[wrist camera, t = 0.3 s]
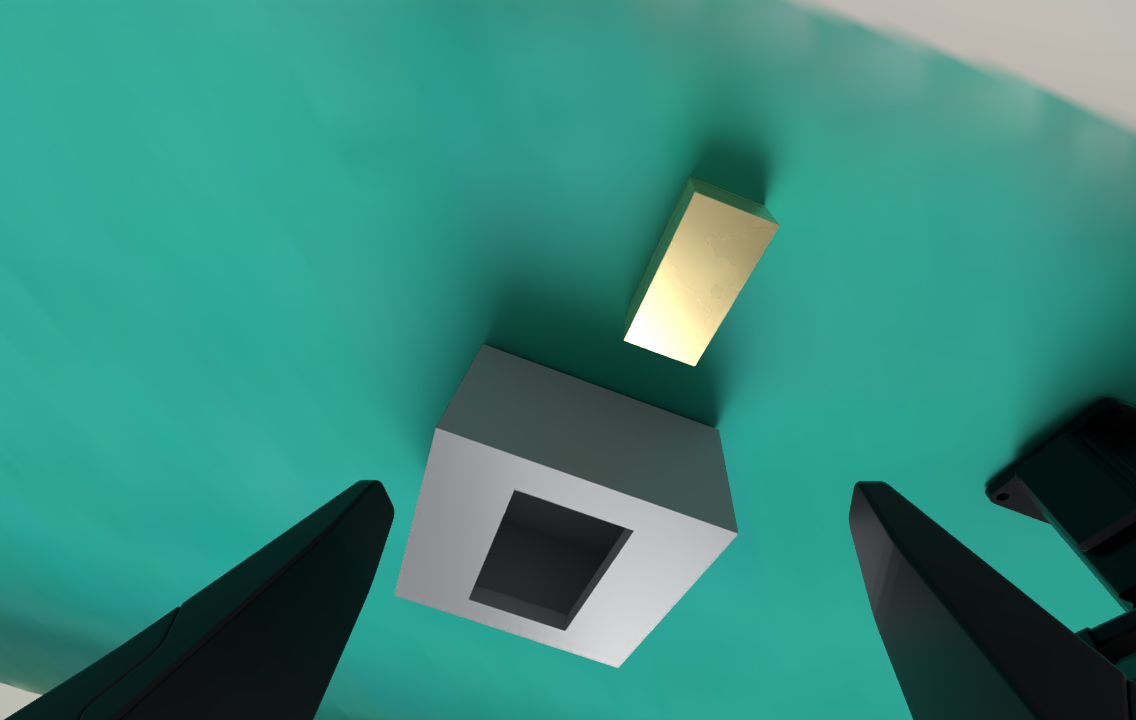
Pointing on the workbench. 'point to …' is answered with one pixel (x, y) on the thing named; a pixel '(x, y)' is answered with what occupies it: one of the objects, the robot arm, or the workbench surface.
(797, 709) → the workbench surface
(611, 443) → the slot box
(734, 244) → the tall cream wooden block
